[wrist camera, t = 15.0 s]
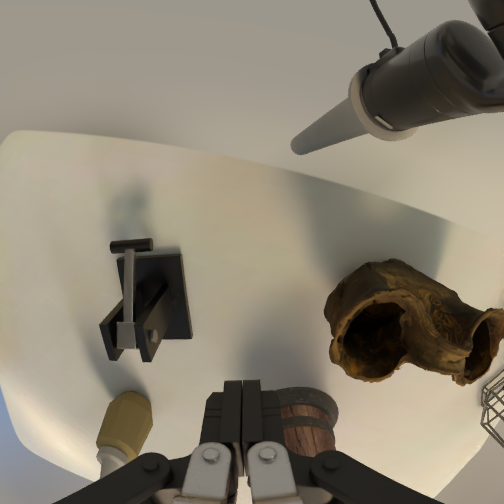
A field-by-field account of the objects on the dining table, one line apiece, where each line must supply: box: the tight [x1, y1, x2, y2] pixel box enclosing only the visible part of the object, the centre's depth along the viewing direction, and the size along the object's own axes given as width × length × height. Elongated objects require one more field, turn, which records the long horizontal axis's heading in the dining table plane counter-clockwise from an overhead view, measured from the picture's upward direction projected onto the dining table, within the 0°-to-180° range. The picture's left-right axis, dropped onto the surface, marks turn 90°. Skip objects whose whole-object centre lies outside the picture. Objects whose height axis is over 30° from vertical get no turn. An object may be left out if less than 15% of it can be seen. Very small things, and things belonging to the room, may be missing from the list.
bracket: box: [99, 254, 193, 362], centre depth 35 cm, size 12×9×13 cm
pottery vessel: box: [324, 258, 504, 386], centre depth 32 cm, size 25×11×20 cm, turn 75°
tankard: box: [247, 387, 338, 487], centre depth 38 cm, size 24×17×20 cm
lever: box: [110, 238, 153, 349], centre depth 31 cm, size 12×5×2 cm, turn 2°
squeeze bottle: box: [96, 392, 153, 479], centre depth 37 cm, size 8×8×18 cm
